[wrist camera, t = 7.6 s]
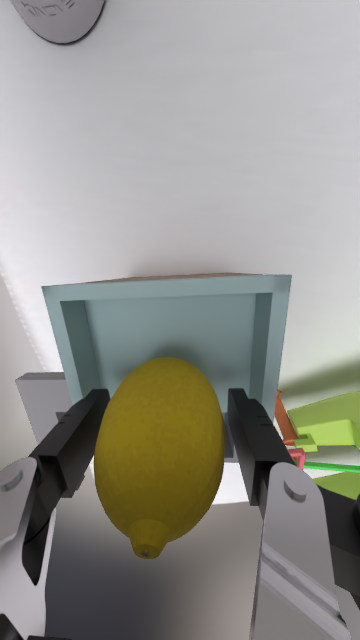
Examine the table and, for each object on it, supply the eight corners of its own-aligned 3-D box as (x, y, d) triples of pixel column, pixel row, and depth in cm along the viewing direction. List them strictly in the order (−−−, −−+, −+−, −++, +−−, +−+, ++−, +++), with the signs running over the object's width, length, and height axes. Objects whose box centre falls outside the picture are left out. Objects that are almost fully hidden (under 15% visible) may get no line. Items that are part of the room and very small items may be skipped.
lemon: (155, 321, 11) (82, 443, 3) (225, 360, 11) (306, 539, 4) (120, 383, 12) (11, 570, 5) (184, 414, 13) (184, 624, 5)
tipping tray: (-2, 287, 12) (-62, 291, 9) (264, 274, 11) (291, 274, 8) (61, 476, 17) (35, 517, 14) (246, 481, 16) (259, 527, 13)
